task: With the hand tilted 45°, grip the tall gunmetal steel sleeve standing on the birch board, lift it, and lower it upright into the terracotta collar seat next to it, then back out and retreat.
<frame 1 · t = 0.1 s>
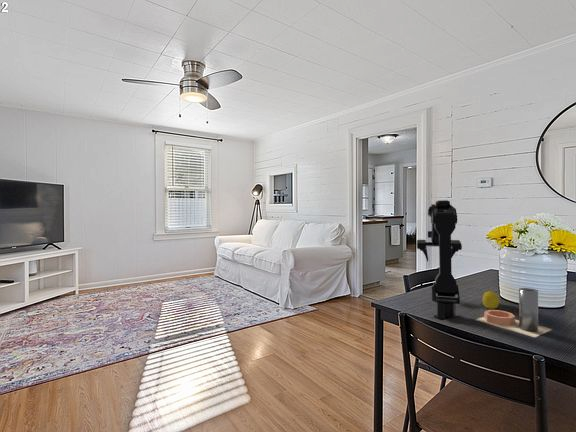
hand: (438, 261, 152), 15 cm above the table, tool pointing down, fingers open, 9 cm apart
collar seat: (499, 323, 114), resting on birch board
lemon: (490, 310, 128), on the table
birch board: (511, 327, 110), on the table
steel sleeve: (528, 329, 106), point 1 cm above the table, touching birch board
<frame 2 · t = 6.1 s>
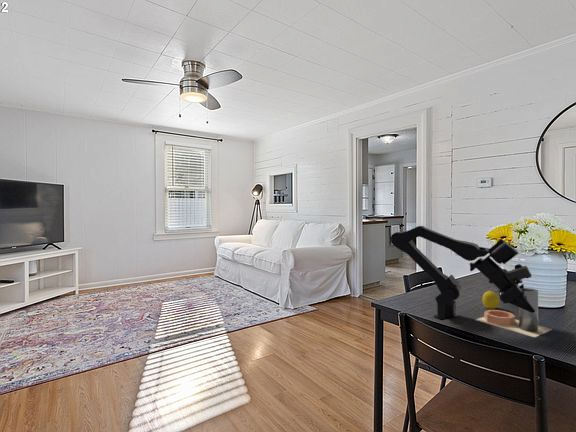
hand: (533, 309, 105), 8 cm above the table, tool tilted 45°, fingers closed on steel sleeve, 5 cm apart
steel sleeve: (528, 329, 106), point 1 cm above the table, touching birch board, gripper
everything else where it was.
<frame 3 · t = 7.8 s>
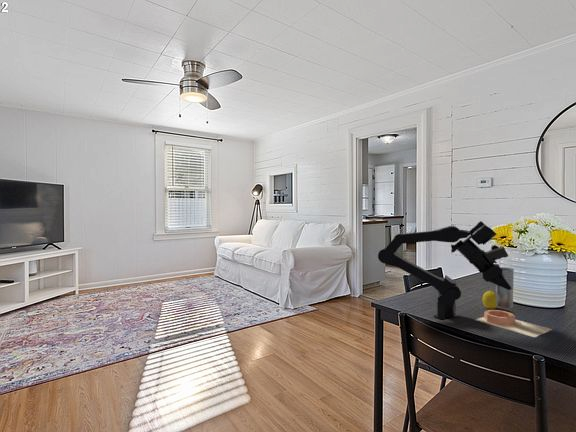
hand: (509, 287, 111), 13 cm above the table, tool tilted 45°, fingers closed on steel sleeve, 5 cm apart
steel sleeve: (504, 305, 112), point 7 cm above the table, touching gripper
everything else where it was.
when the fingers open (9 cm above the table, at t = 9.8 s): steel sleeve drops 1 cm, resting on birch board.
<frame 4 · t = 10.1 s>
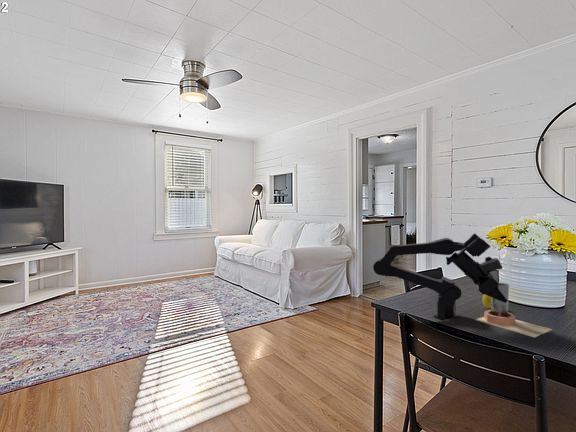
hand: (504, 298, 113), 9 cm above the table, tool tilted 45°, fingers open, 8 cm apart
steel sleeve: (499, 320, 114), point 1 cm above the table, touching birch board
everything else where it was.
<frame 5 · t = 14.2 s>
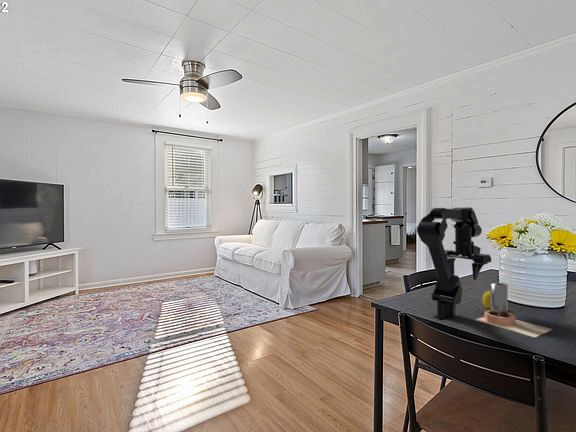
hand: (463, 277, 129), 13 cm above the table, tool pointing down, fingers open, 9 cm apart
nothing on the table moved.
at the end: steel sleeve 0.1 cm off-centre on the collar seat, point 1.0 cm above the collar seat's base; steel sleeve tilted 1°; the gripper is holding nothing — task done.
